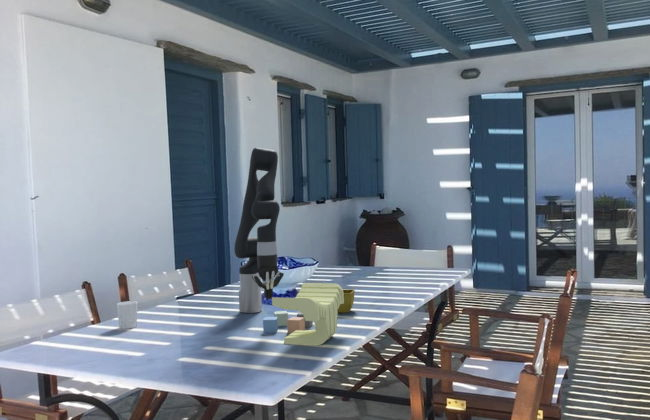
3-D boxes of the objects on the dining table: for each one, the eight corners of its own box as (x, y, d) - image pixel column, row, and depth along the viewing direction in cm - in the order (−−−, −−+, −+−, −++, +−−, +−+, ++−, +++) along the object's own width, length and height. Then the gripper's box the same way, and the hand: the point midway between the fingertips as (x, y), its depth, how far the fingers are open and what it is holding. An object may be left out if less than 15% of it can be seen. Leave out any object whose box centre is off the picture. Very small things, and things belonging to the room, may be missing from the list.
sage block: (275, 326, 234) (274, 314, 234) (274, 323, 239) (274, 311, 239) (288, 325, 235) (287, 313, 235) (287, 323, 240) (286, 310, 240)
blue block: (263, 333, 224) (262, 320, 224) (265, 330, 229) (264, 317, 229) (276, 332, 224) (276, 319, 224) (278, 329, 229) (277, 316, 229)
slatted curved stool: (319, 352, 194) (316, 298, 194) (274, 350, 199) (271, 297, 199) (345, 330, 223) (343, 283, 222) (305, 329, 228) (303, 282, 227)
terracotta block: (287, 332, 223) (287, 319, 223) (292, 329, 228) (292, 316, 228) (299, 333, 221) (299, 320, 221) (304, 330, 226) (304, 317, 226)
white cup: (119, 330, 238) (118, 305, 237) (116, 326, 245) (115, 302, 244) (139, 327, 241) (138, 303, 241) (136, 324, 248) (135, 300, 248)
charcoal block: (297, 327, 232) (296, 314, 232) (300, 324, 237) (300, 311, 237) (309, 327, 231) (309, 314, 231) (312, 324, 236) (312, 311, 236)
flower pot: (352, 314, 252) (351, 292, 252) (332, 313, 254) (331, 292, 254) (355, 309, 261) (354, 289, 260) (335, 309, 262) (335, 289, 262)
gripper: (277, 251, 232) (279, 295, 233) (247, 254, 225) (248, 299, 226) (287, 252, 226) (288, 297, 227) (255, 255, 219) (257, 302, 219)
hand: (268, 298), depth 226 cm, fingers closed
